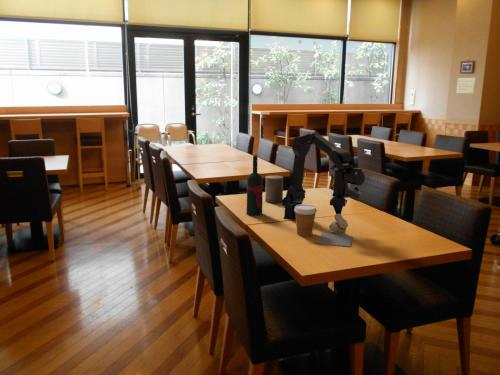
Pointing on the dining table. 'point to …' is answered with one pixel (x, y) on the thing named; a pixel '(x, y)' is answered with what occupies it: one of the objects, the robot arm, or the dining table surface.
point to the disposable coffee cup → (305, 219)
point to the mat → (335, 239)
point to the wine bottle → (254, 191)
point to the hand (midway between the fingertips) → (338, 217)
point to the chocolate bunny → (339, 225)
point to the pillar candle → (274, 189)
